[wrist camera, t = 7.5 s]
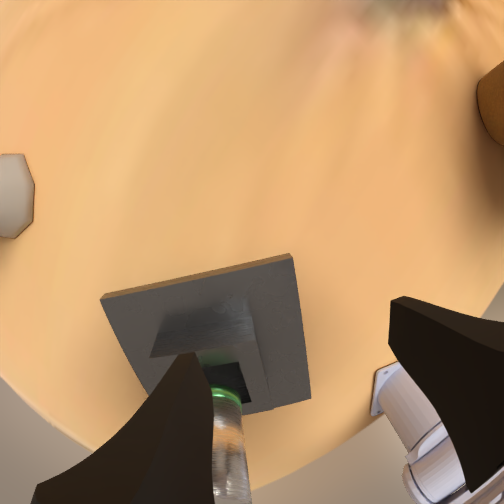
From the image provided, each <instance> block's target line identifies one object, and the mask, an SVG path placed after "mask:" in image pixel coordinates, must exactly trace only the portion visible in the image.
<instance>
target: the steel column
mask: <svg viewBox="0 0 504 504" xmlns="http://www.w3.org/2000/svg"><path fill="white" fill-rule="evenodd" d="M209 386H210V388H211V390H212V396H213V408H214V429H213V451H212V481H213V491H214V500H215V504H252V499H251V492H250V484H249V476H248V468H247V459H246V450H245V441H244V432H243V423H242V405H241V398H240V395H239V394H238V392H237V391H235V390H234V389H233V388H231V387H228V386H225V385H221V384H209Z"/></svg>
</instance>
